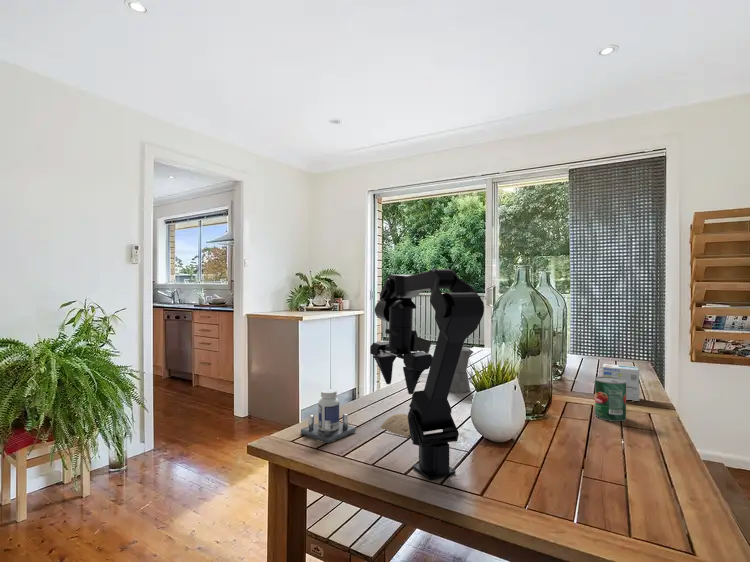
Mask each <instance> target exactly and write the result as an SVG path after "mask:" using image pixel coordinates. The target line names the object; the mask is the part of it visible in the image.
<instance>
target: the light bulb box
mask: <svg viewBox="0 0 750 562" xmlns="http://www.w3.org/2000/svg"><path fill="white" fill-rule="evenodd" d="M602 377H614V378H619V379H623V380H625V381H626V399H627V400H634V401H639V402H640V395H641V394H640V369H639V366H632V365H621V364H611V363H610V364H609V363H604V364H602ZM634 401H633V402H634Z"/></svg>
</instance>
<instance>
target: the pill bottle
mask: <svg viewBox="0 0 750 562" xmlns="http://www.w3.org/2000/svg"><path fill="white" fill-rule="evenodd" d="M320 396H321V398H320V399H319V400H318V411H317V412H318V413H317V415H318V416H317V417H318V423H319V429H320V430H321V431H325V420H330V432H331V431H335V430H337V429H338V428H339V423H340V400H339V399H338V397H337V390H336V389H333V388H331V389H330V388H329V389H322V390H321V392H320Z"/></svg>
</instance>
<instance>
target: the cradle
mask: <svg viewBox="0 0 750 562" xmlns="http://www.w3.org/2000/svg"><path fill="white" fill-rule="evenodd" d="M354 432H355V433H356V432H357V431H356V427H355V426H352V425H349V413H342V422H339V428H338V429H337V430H335V431H331V432H330V420H325V431H321V430H320V429H319V422H318V423H315V415H314V414H308V426H306V427H303V428H300V435H303V436H305V435H306V436H305V437H307V438H311V439H313V438H314V440H316V441H318V440H319V441H318V442H321V441H322V442H321V443H324V442H325V443H324V444H326V443H328V444H330V443H333V442H335V441H337V439H338V440H340V439H343V438H345V437H347V435H348V436H350V435H353V434H355V433H354ZM352 433H353V434H352ZM349 434H350V435H349ZM344 436H345V437H344ZM342 437H343V438H342ZM339 438H340V439H339ZM334 440H335V441H334ZM332 441H333V442H332Z"/></svg>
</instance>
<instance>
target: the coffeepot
mask: <svg viewBox="0 0 750 562" xmlns="http://www.w3.org/2000/svg"><path fill="white" fill-rule="evenodd" d="M472 354H474V351H473V350H471V348H468V347H465V346H463V348H462V351H461V354H460V358H459V361H458V364H457V368H456V371H455V374H454V378H453V381H452V384H451V388H450V391H449V393H454V392H459V394H461V393H460V392H465V393H468V392H470V390H471V387H470V381H469V376H468V375H469V374H468V371H467V370H468V369H467V368H468V366H469V360H470V357H471V356H472ZM467 391H468V392H467Z"/></svg>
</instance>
